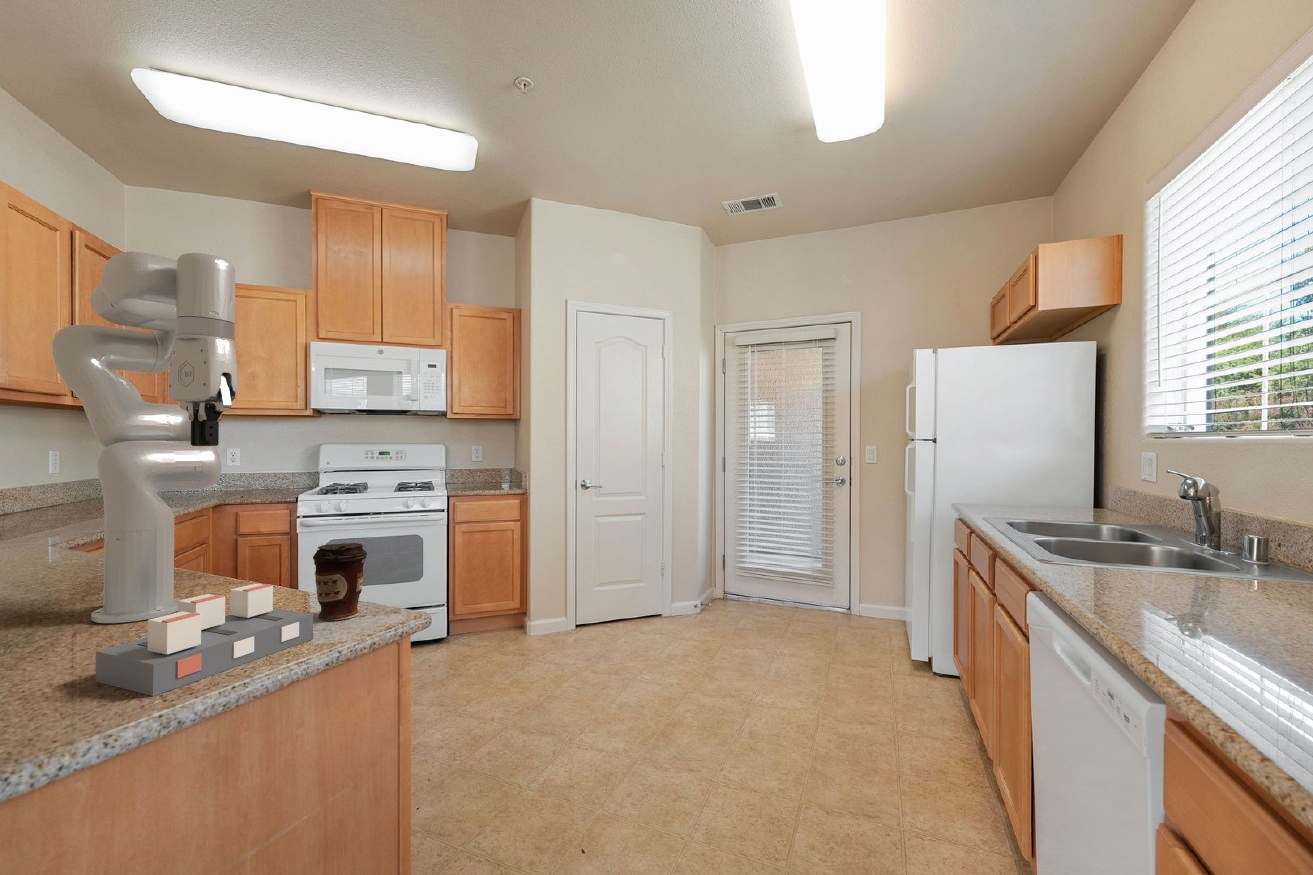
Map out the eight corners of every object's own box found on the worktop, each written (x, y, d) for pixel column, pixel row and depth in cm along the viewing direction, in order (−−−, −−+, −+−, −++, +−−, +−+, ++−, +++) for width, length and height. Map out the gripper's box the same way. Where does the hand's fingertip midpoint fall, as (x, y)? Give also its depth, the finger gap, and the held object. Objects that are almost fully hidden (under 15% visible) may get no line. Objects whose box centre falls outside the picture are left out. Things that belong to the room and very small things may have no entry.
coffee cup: (340, 625, 98) (341, 550, 98) (299, 622, 100) (300, 548, 100) (375, 611, 107) (376, 542, 107) (337, 608, 108) (337, 540, 108)
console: (95, 681, 75) (96, 650, 75) (261, 629, 96) (261, 605, 96) (154, 696, 71) (154, 663, 71) (313, 638, 92) (314, 613, 92)
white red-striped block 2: (230, 614, 90) (230, 588, 90) (255, 607, 94) (255, 582, 94) (247, 617, 88) (248, 590, 88) (272, 610, 92) (273, 584, 92)
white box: (147, 650, 75) (147, 618, 75) (181, 640, 78) (182, 609, 79) (167, 654, 73) (167, 621, 73) (200, 644, 77) (201, 613, 77)
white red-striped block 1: (177, 628, 83) (178, 599, 83) (207, 619, 87) (207, 592, 87) (195, 631, 82) (196, 602, 82) (224, 623, 86) (225, 595, 86)
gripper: (149, 331, 91) (148, 445, 91) (211, 325, 86) (210, 446, 86) (200, 339, 98) (199, 445, 98) (261, 334, 93) (260, 446, 93)
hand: (204, 445), depth 92 cm, fingers closed
